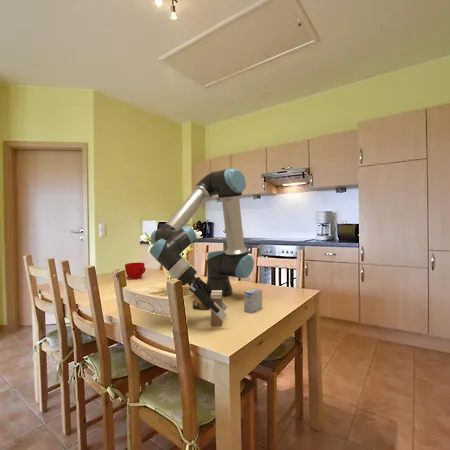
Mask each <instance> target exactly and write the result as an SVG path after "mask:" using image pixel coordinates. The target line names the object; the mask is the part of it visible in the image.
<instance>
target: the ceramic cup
mask: <svg viewBox="0 0 450 450" xmlns="http://www.w3.org/2000/svg"><path fill="white" fill-rule="evenodd" d="M124 269H125V274H126V276H127V277H128V278H129V280H139V279H140V278H141V277H143V274H144V273H145V272H146V269H147V268H146V267H145V262H130V263H126V264H124Z"/></svg>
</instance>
